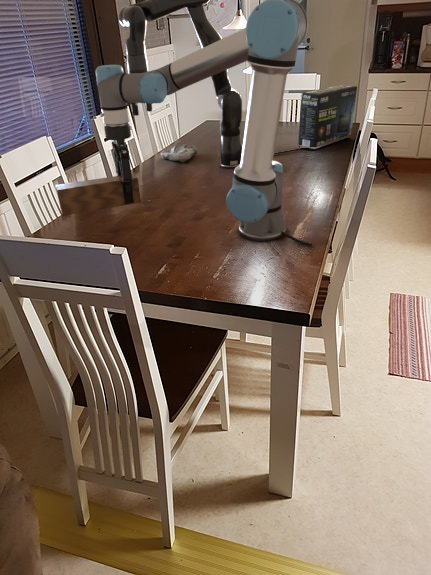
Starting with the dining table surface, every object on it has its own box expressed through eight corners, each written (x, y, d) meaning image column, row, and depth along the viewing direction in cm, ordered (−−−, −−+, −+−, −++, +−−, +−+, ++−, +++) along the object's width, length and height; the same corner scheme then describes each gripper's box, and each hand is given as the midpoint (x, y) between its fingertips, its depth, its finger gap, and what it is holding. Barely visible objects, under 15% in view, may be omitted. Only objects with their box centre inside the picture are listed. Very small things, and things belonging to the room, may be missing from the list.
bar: (137, 197, 149) (134, 173, 145) (141, 202, 145) (137, 177, 141) (61, 210, 142) (55, 185, 138) (62, 215, 138) (56, 190, 134)
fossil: (184, 156, 217) (163, 136, 220) (174, 174, 223) (154, 154, 227) (205, 153, 231) (186, 134, 234) (195, 171, 237) (176, 152, 240)
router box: (314, 151, 231) (318, 94, 217) (296, 148, 237) (299, 92, 224) (352, 138, 251) (358, 85, 238) (335, 135, 258) (340, 83, 245)
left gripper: (141, 65, 179) (146, 109, 188) (117, 70, 169) (123, 116, 177) (157, 66, 176) (161, 110, 184) (133, 70, 166) (139, 117, 174)
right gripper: (98, 120, 140) (110, 193, 152) (109, 131, 125) (121, 211, 137) (123, 117, 142) (132, 189, 154) (136, 128, 127) (146, 207, 139)
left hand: (142, 113), depth 181 cm, fingers open, 8 cm apart
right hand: (127, 199), depth 146 cm, fingers closed on bar, 5 cm apart
